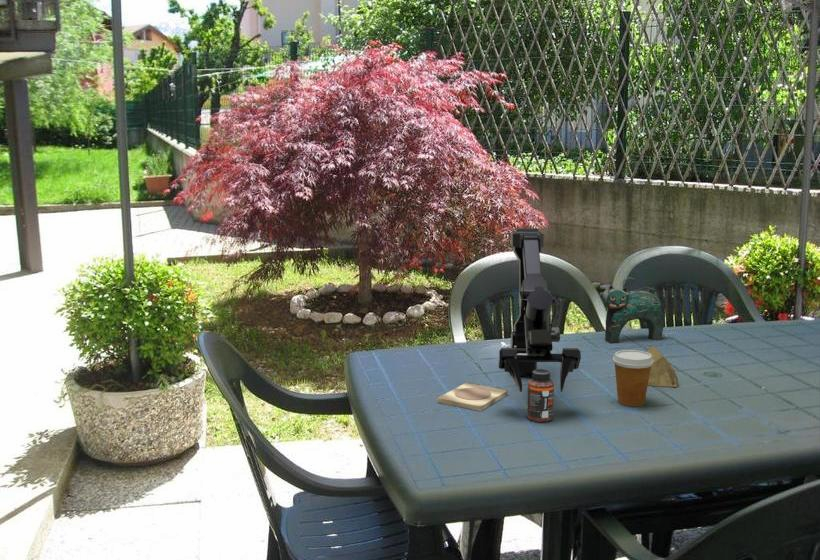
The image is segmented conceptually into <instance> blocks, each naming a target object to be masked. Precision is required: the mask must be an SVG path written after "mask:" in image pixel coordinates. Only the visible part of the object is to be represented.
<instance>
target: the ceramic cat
mask: <svg viewBox="0 0 820 560" xmlns="http://www.w3.org/2000/svg"><path fill="white" fill-rule="evenodd" d="M629 279H631V280H632V281H633V282H636V280H635V279H634V278H633V277H626V278H624V279H623V282H622V288H619V287H615V286H612V285H609V287H608V288H606V289H605V290H604V291H603V293H602V302H603V304H604V306H605V307H607V311H606V317H605V329H604V330H605V332H604V334H605V335H604V339H605V341H606V342H607V343H609V344H618V343H619V340H620V335H621V332H622V330H623V328H624V327H625V325H626V324H627V323H629V322H630V321H634V320H641V321H643V322H644V323H646V325H647V328H648V339H650V340H652V341H660V340H662V337H663V332H664V331H663V330H664V327H665V322H666V321H665V319H666V314H665V309H664V305H663V303H662V301H661V295H660V292H659V291H658V290H657V289H655V288H653V287H639V288H638V289H636V290H630V291H629V290H627V289H628V287H625V286H624V284H625V281H627V280H629ZM645 290H652V291H654V292H655V293H656V294H657V295H658V296H657V295H655V294H653V293H651V292H649V291H645Z"/></svg>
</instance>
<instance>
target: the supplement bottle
mask: <svg viewBox="0 0 820 560" xmlns="http://www.w3.org/2000/svg"><path fill="white" fill-rule="evenodd" d="M554 396H555V383H554V381H553V380H552V379H551V372H550V370H548V369H543V368H541V369H539V368H537V370H533V373H532V378H531V379H529V380H528V383H527V413H526V414H527V415H526V416H527V419H529V420H531V421H533V422H538V423H541V422H542V423H545V422H546V423H547V422H550V421H552V420H553V417H554V403H555V402H554V401H555V400H554V398H555V397H554Z"/></svg>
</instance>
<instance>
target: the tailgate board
mask: <svg viewBox="0 0 820 560" xmlns="http://www.w3.org/2000/svg"><path fill="white" fill-rule="evenodd" d="M508 393H509V392H508V389H505V388H501V387H490V386H485V385H480V384H478V383H473V382H464V383H463V384H461V385H458V386H457V387H456V388H454V389H452V390H449V391H447V392H446V393H444V394H442V395H440V396H438V397H437V398H436V399H437V400H436V401H437V402H436V403H437V404H443V405H447V406H453V407H458V408H463V409H467V410H472V411H478V412H482V411H484V410H485V409H488V407H490V406H492V405H494V404H495V403H498V402H499V401H500V400H502V399H503V398H505V397H507V396H508V395H509V394H508Z"/></svg>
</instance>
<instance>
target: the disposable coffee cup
mask: <svg viewBox="0 0 820 560" xmlns="http://www.w3.org/2000/svg"><path fill="white" fill-rule="evenodd" d="M612 361H613V363H614V368H615V369H614V370H615V380H616V381H615V382H616V383H615V384H616V393H617V394H616V395H617V402H618V403H619V404H620V405H622V406H625V407H626V406H627V407H640V406H643V405H645V403H646V396H647V392H648V381H649V375H650V370H651V366H652V363H653V359H652V356H651V354H649V353H647V351H642V350H636V349H623V350H618V351H616V352H615V353H614V355H613V357H612Z"/></svg>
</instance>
